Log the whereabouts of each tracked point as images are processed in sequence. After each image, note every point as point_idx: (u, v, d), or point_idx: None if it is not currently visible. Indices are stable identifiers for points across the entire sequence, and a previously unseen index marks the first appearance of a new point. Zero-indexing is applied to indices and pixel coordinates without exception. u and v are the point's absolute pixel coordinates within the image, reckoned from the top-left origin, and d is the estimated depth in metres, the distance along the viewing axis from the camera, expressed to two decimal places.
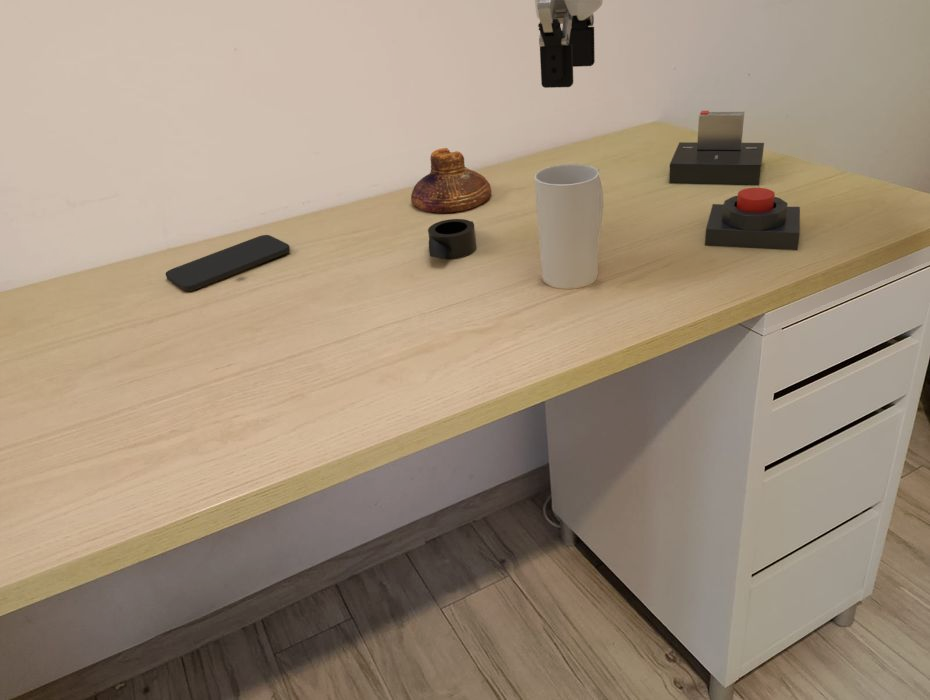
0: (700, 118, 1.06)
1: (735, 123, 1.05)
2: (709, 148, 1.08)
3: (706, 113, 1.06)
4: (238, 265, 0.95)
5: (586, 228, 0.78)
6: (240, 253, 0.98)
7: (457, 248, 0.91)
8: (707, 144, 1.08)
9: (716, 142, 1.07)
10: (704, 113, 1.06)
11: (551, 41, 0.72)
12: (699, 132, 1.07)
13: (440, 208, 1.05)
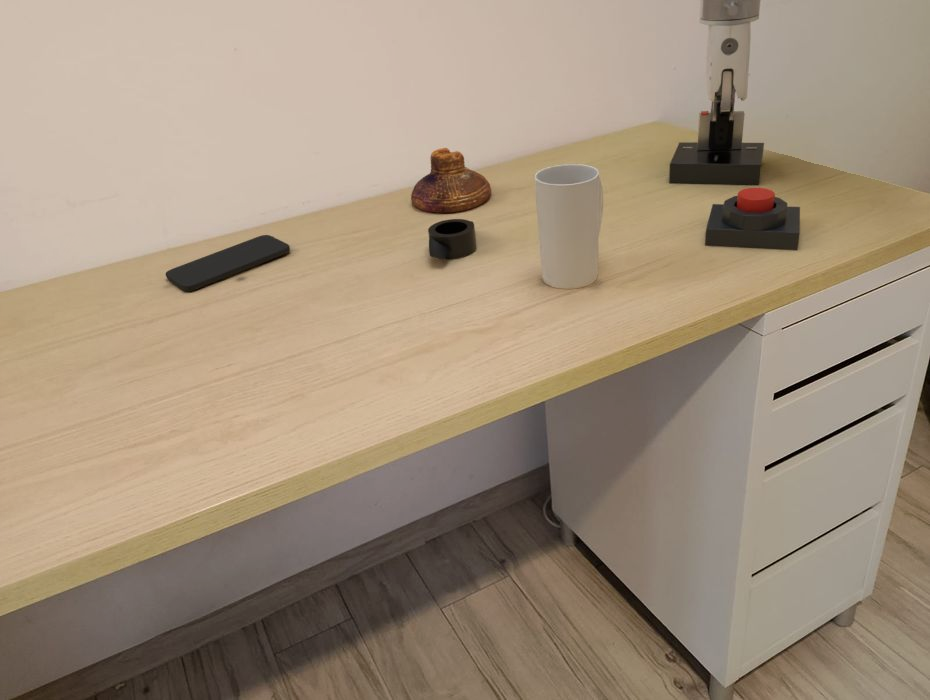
0: (701, 119, 1.06)
1: (735, 123, 1.05)
2: None
3: (706, 113, 1.06)
4: (238, 265, 0.95)
5: (586, 228, 0.78)
6: (240, 253, 0.98)
7: (457, 248, 0.91)
8: None
9: None
10: (704, 114, 1.06)
11: (722, 119, 1.04)
12: (700, 133, 1.07)
13: (440, 208, 1.05)
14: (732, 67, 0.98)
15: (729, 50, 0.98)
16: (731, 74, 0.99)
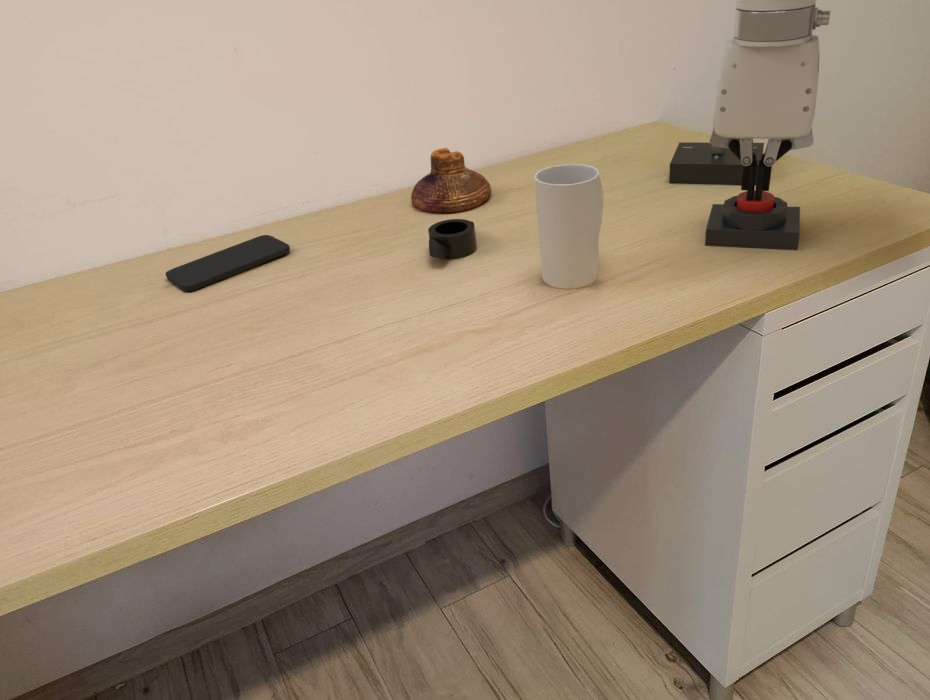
0: None
1: None
2: None
3: None
4: (238, 265, 0.95)
5: (586, 228, 0.78)
6: (240, 253, 0.98)
7: (457, 248, 0.91)
8: None
9: None
10: None
11: None
12: None
13: (440, 208, 1.05)
14: None
15: None
16: None
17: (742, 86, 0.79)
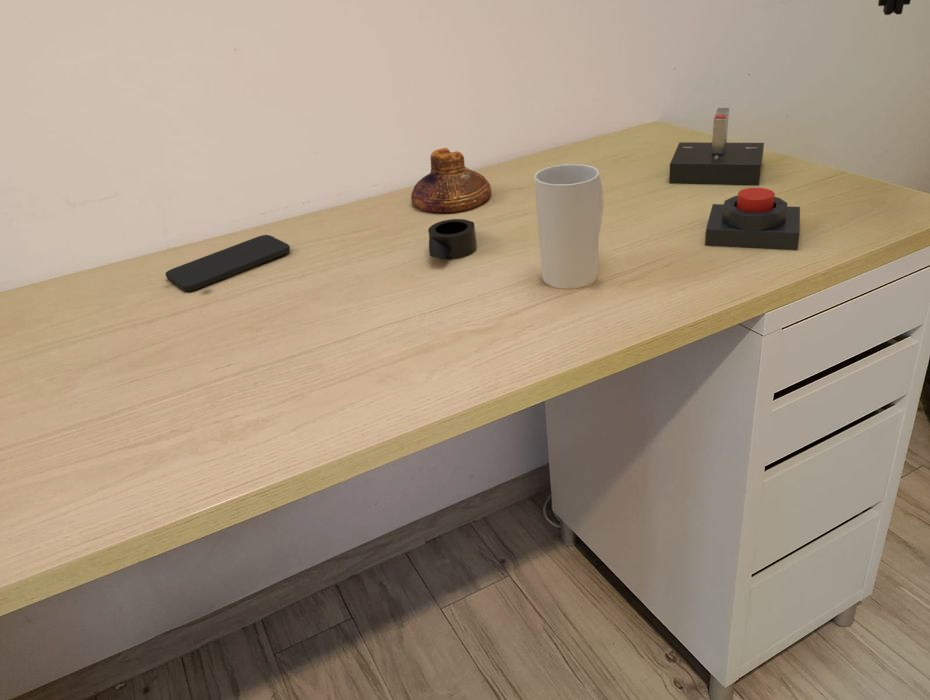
0: (725, 122, 1.04)
1: None
2: None
3: (724, 116, 1.04)
4: (238, 265, 0.95)
5: (586, 228, 0.78)
6: (240, 253, 0.98)
7: (457, 248, 0.91)
8: (724, 146, 1.06)
9: (725, 141, 1.07)
10: None
11: None
12: (724, 136, 1.05)
13: (440, 208, 1.05)
14: None
15: None
16: None
17: None
